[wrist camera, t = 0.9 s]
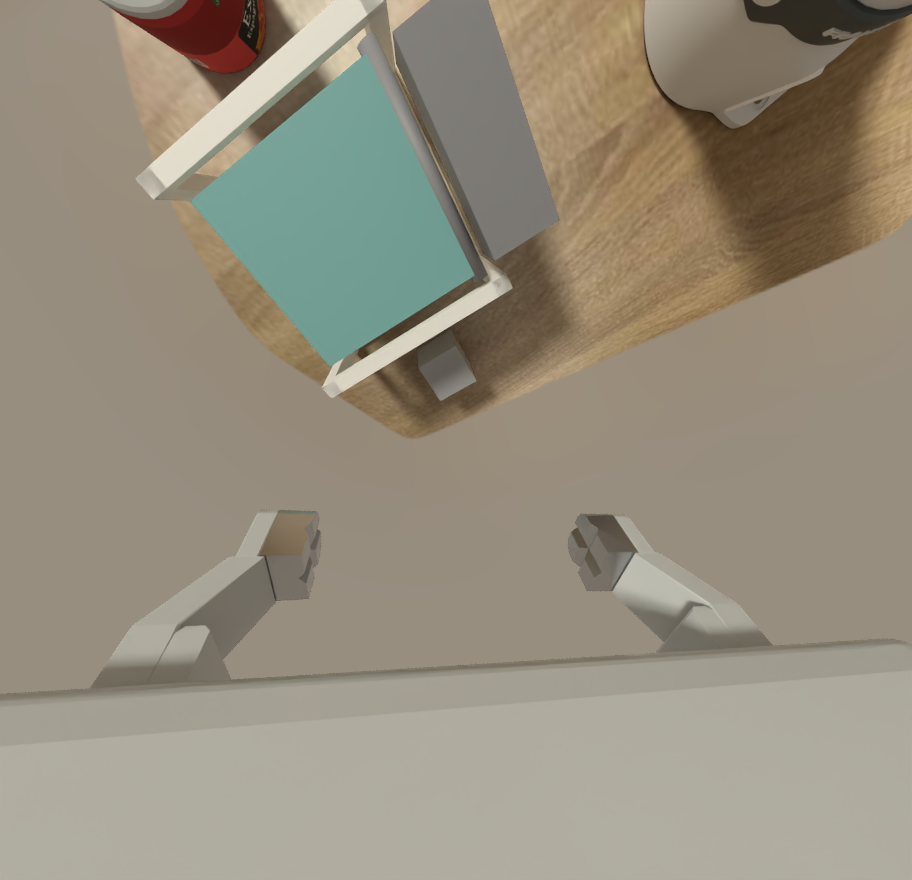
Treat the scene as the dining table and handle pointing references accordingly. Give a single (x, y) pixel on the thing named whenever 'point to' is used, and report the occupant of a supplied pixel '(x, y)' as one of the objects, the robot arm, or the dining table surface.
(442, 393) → the grey block
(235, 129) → the frame
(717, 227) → the dining table surface
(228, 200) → the trapdoor
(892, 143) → the dining table surface
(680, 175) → the dining table surface
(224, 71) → the canned food
